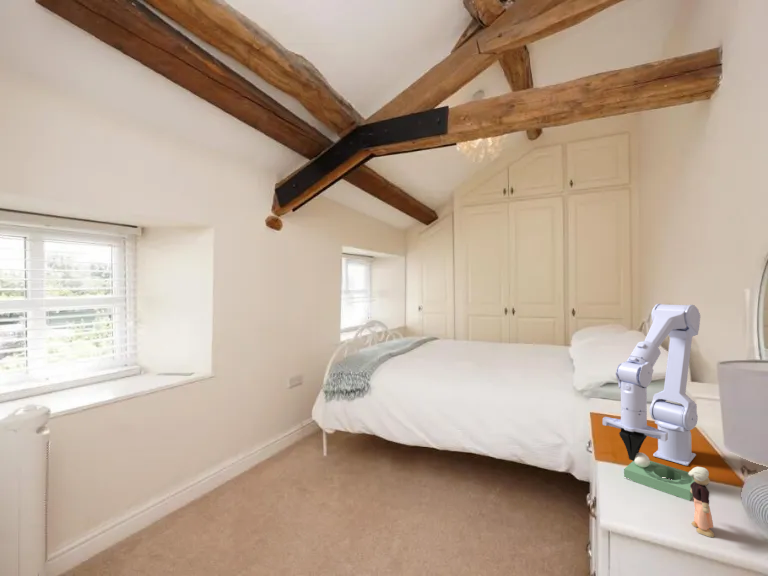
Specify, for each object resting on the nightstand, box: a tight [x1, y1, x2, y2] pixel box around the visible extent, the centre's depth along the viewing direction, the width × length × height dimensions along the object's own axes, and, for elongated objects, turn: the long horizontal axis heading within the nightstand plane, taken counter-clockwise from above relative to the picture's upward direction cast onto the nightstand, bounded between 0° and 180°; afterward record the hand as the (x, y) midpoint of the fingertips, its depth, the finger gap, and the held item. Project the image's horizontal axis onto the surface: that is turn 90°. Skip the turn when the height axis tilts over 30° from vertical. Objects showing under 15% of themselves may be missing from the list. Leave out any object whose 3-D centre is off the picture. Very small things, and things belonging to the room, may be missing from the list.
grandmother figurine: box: [688, 466, 715, 538], centre depth 77 cm, size 8×4×13 cm, turn 168°
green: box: [623, 460, 695, 502], centre depth 95 cm, size 10×14×2 cm
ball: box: [634, 451, 651, 468], centre depth 98 cm, size 4×4×4 cm
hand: (633, 459), depth 99 cm, fingers closed, pressing on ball
